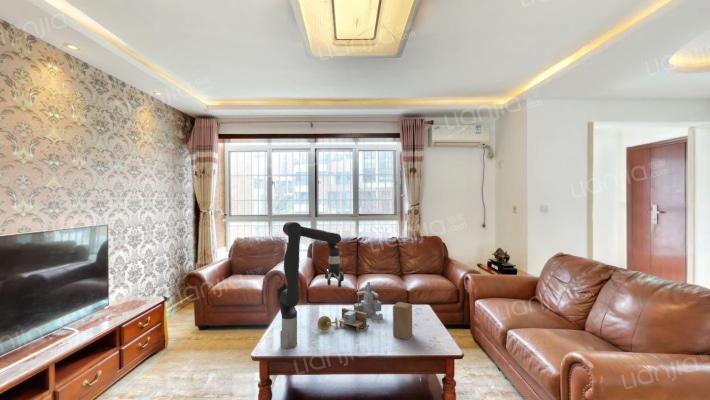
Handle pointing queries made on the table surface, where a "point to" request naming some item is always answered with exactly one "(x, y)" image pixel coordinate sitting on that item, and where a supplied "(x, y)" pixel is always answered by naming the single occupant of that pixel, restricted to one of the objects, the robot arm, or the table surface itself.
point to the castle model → (369, 303)
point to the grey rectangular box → (349, 317)
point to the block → (402, 320)
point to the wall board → (360, 319)
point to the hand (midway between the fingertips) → (334, 286)
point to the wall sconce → (325, 323)
